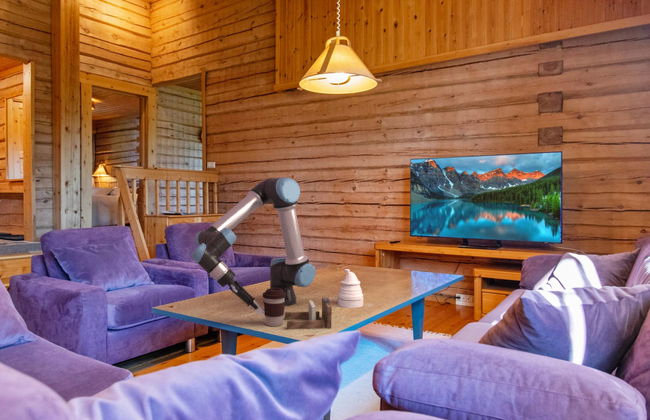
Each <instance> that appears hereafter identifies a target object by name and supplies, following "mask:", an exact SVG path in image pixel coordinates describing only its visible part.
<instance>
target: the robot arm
mask: <svg viewBox="0 0 650 420" xmlns="http://www.w3.org/2000/svg"><path fill="white" fill-rule="evenodd" d="M300 188H301V187H300V186H299V183H298V182H297V181H296V180H294V179H293V178H291V177H269V178H267V179H264V180H262V181H260V182H259V183H257V184H256V185H255V186H254V187H252V188H251V189H250V190H249V191H247V195H246V196H245V197H244V198H242V199H241V200H240V201H239V202H237V204H235V205H234V206H233V207H232V208H230V209H229V210H228V211H227V212H226V213H225V214H223V215H222V216H220V218H219V219H218V220H216V221H215V222H214V223H212V224H211V225H210V226H209V227H208V228H206V229H205V230H200V231H198V232H197V233H196V234H195V237H194V242H195V243H196V245H197V247H196V248H195V249H194V250H193V251H192V252H191V254H190V256H191V258H192V259H193V260H194V261H195V262H196V264H197V265H199V266H200V267H201V268H202V269H203V271H204V270H205V272H206V273H207V274H208V275H209V278H213V279H214V281H216V282H217V284H218V285H220V286H221V287H222V288H224V287H226V285H227V287H229V288H228V289H229V290H230V291H231V292H232V293H233V294H234V295H236V296H237V297H238V298H239V299H240V300H241V301H242V302H243V303H245V304H246V305H247V307H251V308H252V309H253V310H254V311H255V312H256V313H257V314H258V315H259V316H262V315H263V314H264V312H265V311H264V307H262V306H261V304H259V303H258V302H257V301H256V300H255V299H256V298H255V297H253V296H252V295H251V294H250V293H249V292H248V291H247V290H246V289H245V288H244V287H243V285H241V283H240V282H239V281H238V280H235V279H234V278H235V277H236V273H235V272H234V271H233V269H231V268H229V265H227V264H226V263H225V262H224V261H223V260H222V259H221V256H223V254H224V253H226V252H227V250H229V249H230V248H231V246H233V244H235V242H236V240H237V236H236V234H235V232H233V231H232V230H233V229H234V228H235V227H237V226H238V225H239V224H240V223H241V222H243V221H244V220H245V219H246V218H248V216H249V215H251V214H252V213H253V212H254V211H255V210H256V209H258V208H262V207H263V206H264V205H267V204H268V203H269V204H270V203H272V206H273V207H272V208H273V209H274V210H275V211H277V215H278V216H277V217H278V220H279V224H280V231H281V235H282V240H283V244H284V250H285V255H286V257H279V258H278V257H275V258H272V259H271V260H270V265H269V269H270V271H269V275H270V277H269V279H270V280H269V283H270V284H269V288H280V289H282V290H283V292H285V293H286V297H285V299H284V301H285V306H291V305H295V304H296V303H297V295H296V293H295V290H294V286H295V287H298V288H306V287H309V286H311V285H312V283H313V282H314V279H316V268H315V266H314V265H313V264H312V263H310V261H309V257H308V255H306V254H305V251H304V247H303V246H304V245H303V240H302V236H301V231H300V225H299V220H298V217H297V209H296V207H297V205H298V200H299V198H300V195H301V189H300ZM285 306H284V307H285Z"/></svg>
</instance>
